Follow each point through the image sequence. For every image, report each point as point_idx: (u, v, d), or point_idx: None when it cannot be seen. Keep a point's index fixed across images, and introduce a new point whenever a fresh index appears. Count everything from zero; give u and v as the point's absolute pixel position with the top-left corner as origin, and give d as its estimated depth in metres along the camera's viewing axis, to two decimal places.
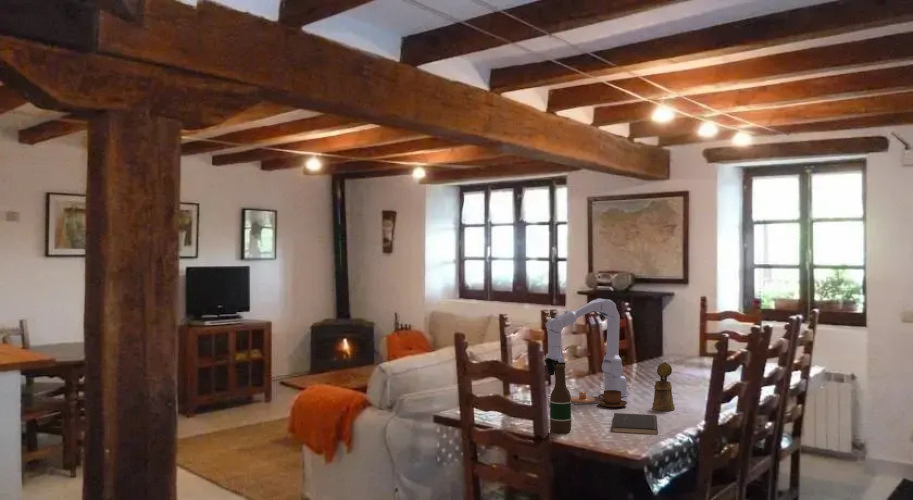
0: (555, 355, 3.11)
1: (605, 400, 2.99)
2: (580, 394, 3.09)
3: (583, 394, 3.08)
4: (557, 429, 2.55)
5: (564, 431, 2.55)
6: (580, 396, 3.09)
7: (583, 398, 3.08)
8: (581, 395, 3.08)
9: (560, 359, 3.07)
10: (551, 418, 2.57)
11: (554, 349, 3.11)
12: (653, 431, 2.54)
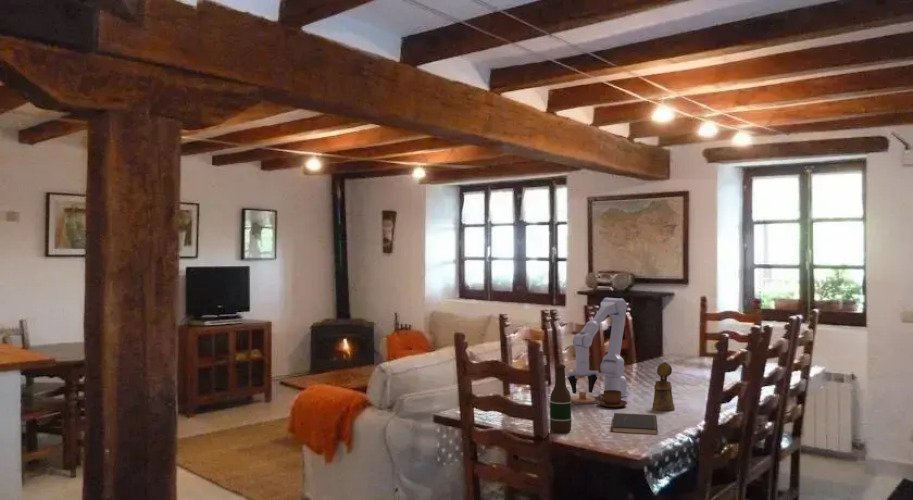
0: None
1: (605, 400, 2.99)
2: (580, 394, 3.09)
3: (583, 394, 3.08)
4: (557, 429, 2.55)
5: (564, 431, 2.55)
6: (580, 396, 3.09)
7: (583, 398, 3.08)
8: (581, 395, 3.08)
9: (566, 373, 3.08)
10: (551, 418, 2.57)
11: None
12: (653, 431, 2.54)
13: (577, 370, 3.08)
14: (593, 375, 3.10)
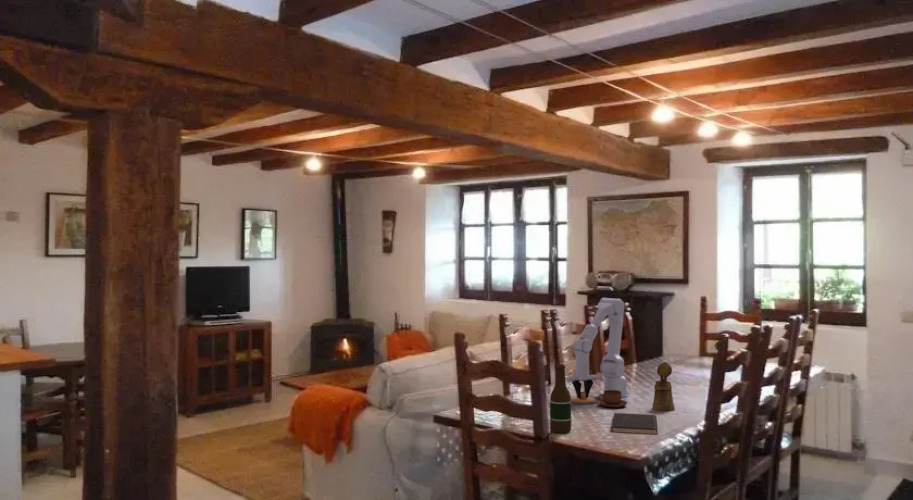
0: (576, 375, 3.10)
1: (605, 400, 2.99)
2: None
3: (583, 394, 3.08)
4: (557, 429, 2.55)
5: (564, 431, 2.55)
6: None
7: (583, 398, 3.08)
8: (581, 395, 3.08)
9: (566, 378, 3.08)
10: (551, 418, 2.57)
11: (576, 368, 3.10)
12: (653, 431, 2.54)
13: (577, 375, 3.08)
14: None
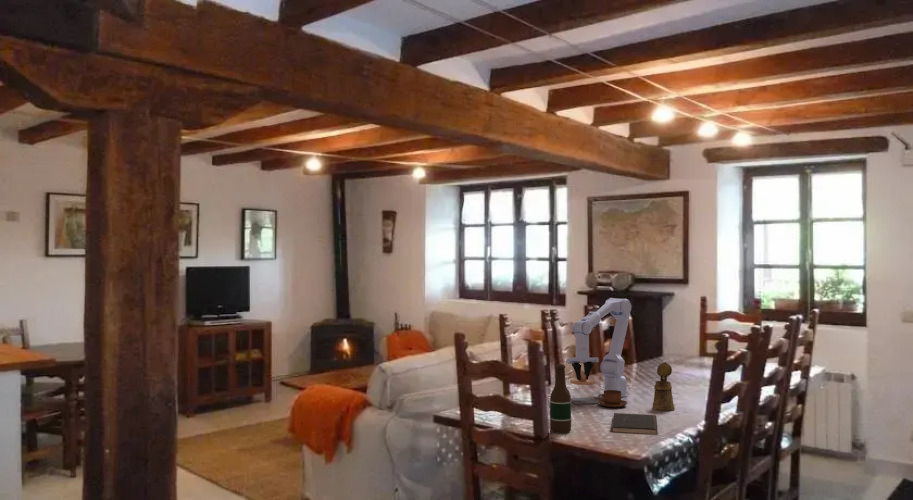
0: None
1: (605, 400, 2.99)
2: None
3: (583, 376, 3.08)
4: (557, 429, 2.55)
5: (564, 431, 2.55)
6: None
7: (583, 380, 3.08)
8: (581, 377, 3.08)
9: (566, 360, 3.08)
10: (551, 418, 2.57)
11: None
12: (653, 431, 2.54)
13: (577, 357, 3.08)
14: None
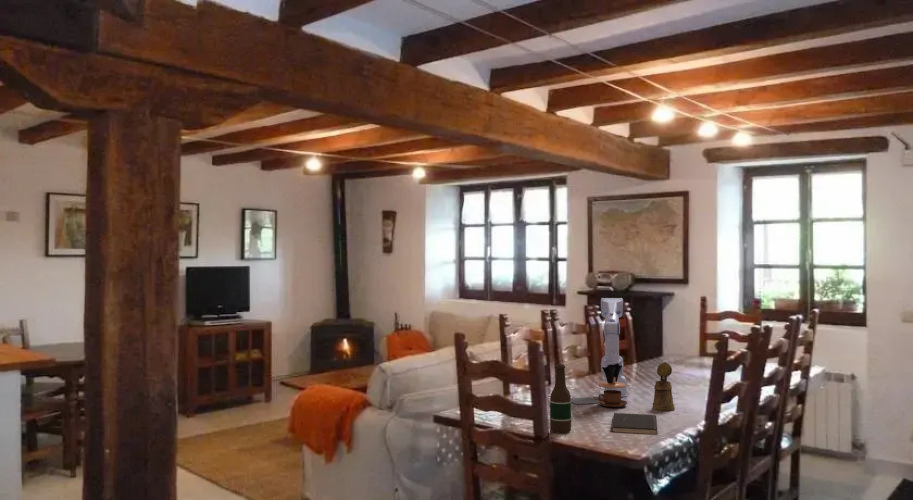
0: (607, 359, 2.99)
1: (605, 400, 2.99)
2: None
3: (614, 379, 2.99)
4: (557, 429, 2.55)
5: (564, 431, 2.55)
6: None
7: (614, 383, 2.99)
8: None
9: (602, 363, 2.95)
10: (551, 418, 2.57)
11: (606, 353, 2.99)
12: (653, 431, 2.54)
13: (610, 359, 2.98)
14: (619, 363, 3.03)
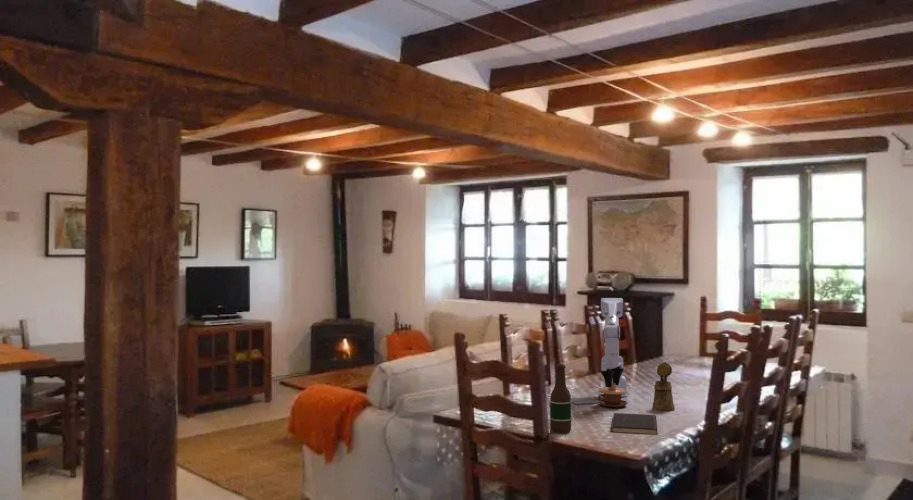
0: (607, 363, 2.99)
1: (605, 400, 2.99)
2: None
3: (614, 385, 2.99)
4: (557, 429, 2.55)
5: (564, 431, 2.55)
6: (611, 387, 2.99)
7: (614, 389, 2.99)
8: (612, 386, 2.99)
9: (602, 367, 2.95)
10: (551, 418, 2.57)
11: (606, 356, 2.99)
12: (653, 431, 2.54)
13: (610, 363, 2.98)
14: (619, 367, 3.03)
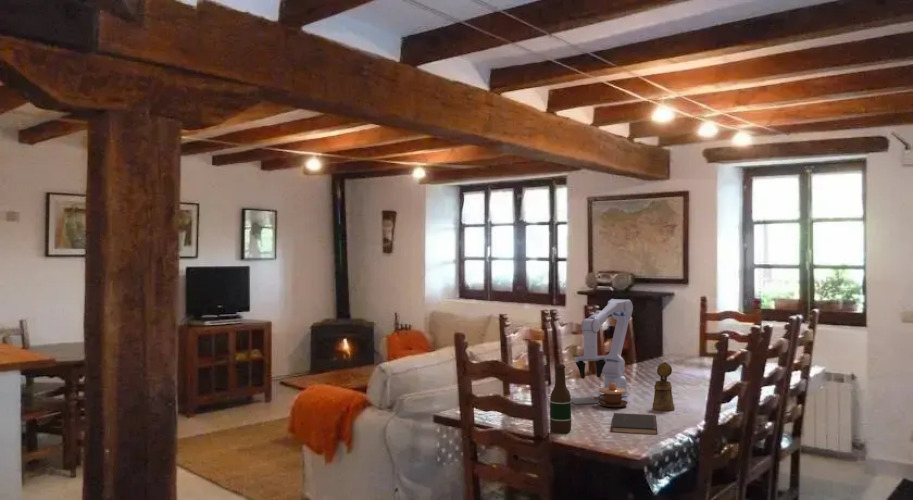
0: (584, 355, 3.09)
1: (606, 400, 2.99)
2: (611, 385, 2.99)
3: (615, 385, 2.99)
4: (557, 429, 2.55)
5: (564, 431, 2.55)
6: (611, 387, 2.99)
7: (615, 389, 2.99)
8: (613, 386, 2.99)
9: (574, 358, 3.07)
10: (551, 418, 2.57)
11: (584, 348, 3.09)
12: (653, 431, 2.54)
13: (585, 355, 3.07)
14: (601, 360, 3.10)
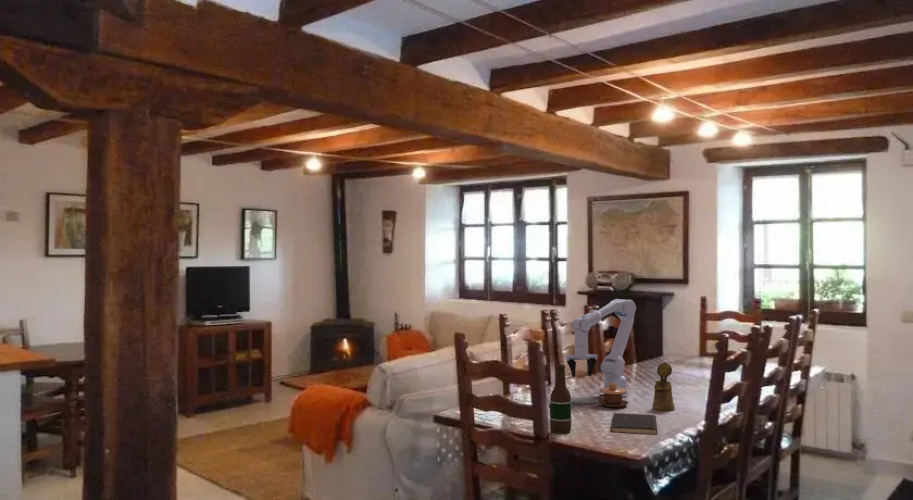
0: (575, 354, 3.13)
1: (606, 400, 2.99)
2: (612, 385, 2.99)
3: (615, 385, 2.99)
4: (557, 429, 2.55)
5: (564, 431, 2.55)
6: (612, 387, 2.99)
7: (615, 389, 2.99)
8: (613, 386, 2.99)
9: (565, 357, 3.11)
10: (551, 418, 2.57)
11: (575, 347, 3.13)
12: (653, 431, 2.54)
13: (576, 354, 3.11)
14: (592, 359, 3.13)
